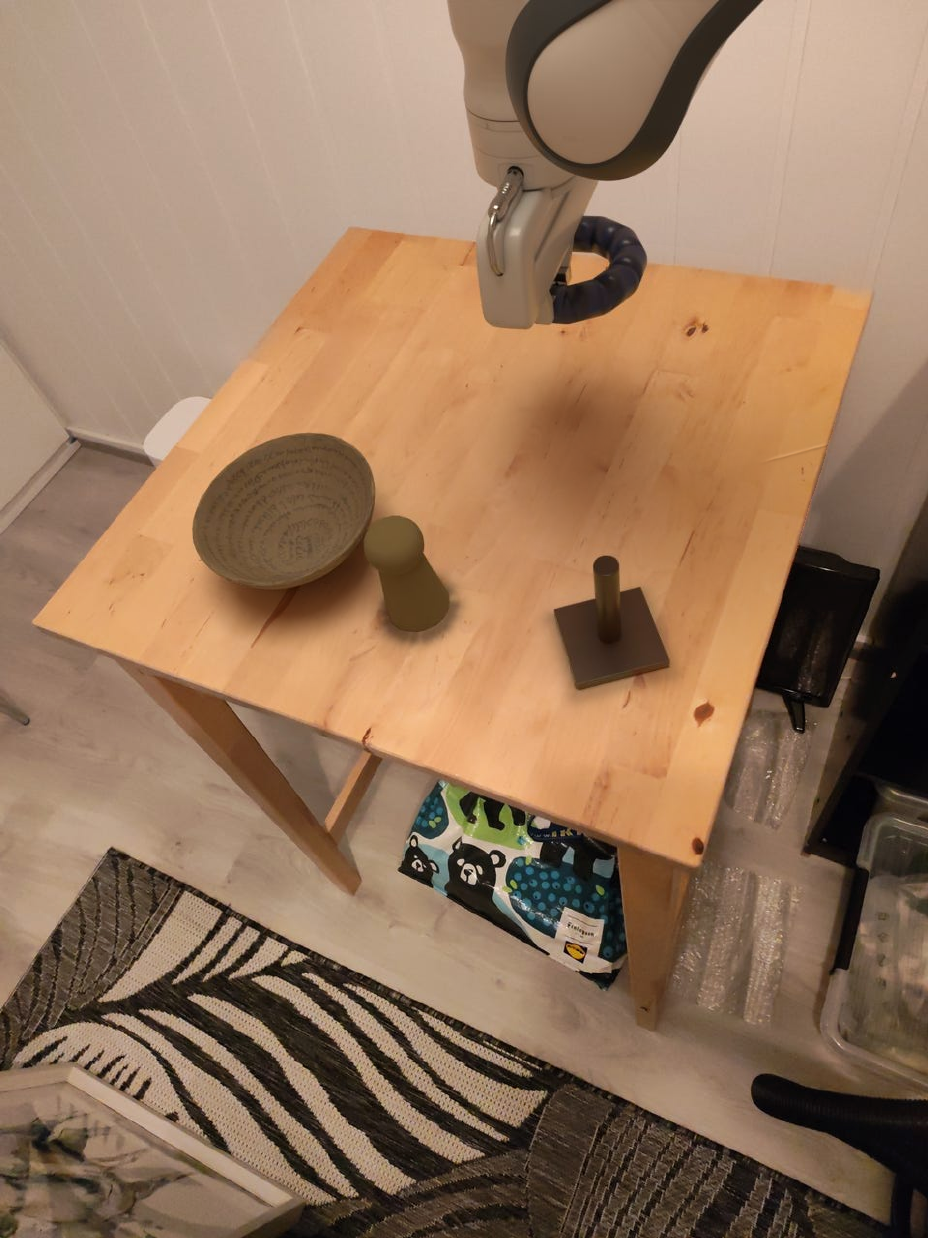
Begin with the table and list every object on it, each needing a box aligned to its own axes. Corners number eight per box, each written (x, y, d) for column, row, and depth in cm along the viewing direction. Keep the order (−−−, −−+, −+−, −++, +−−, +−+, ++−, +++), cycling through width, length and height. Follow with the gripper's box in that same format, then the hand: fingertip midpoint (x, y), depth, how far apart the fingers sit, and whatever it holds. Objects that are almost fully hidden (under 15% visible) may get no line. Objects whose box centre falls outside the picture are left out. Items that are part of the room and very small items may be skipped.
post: (640, 592, 73) (640, 513, 64) (669, 666, 68) (674, 593, 59) (554, 615, 73) (542, 539, 64) (577, 690, 69) (568, 620, 59)
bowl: (191, 607, 81) (152, 560, 75) (273, 473, 90) (244, 420, 83) (352, 645, 75) (325, 597, 69) (423, 498, 84) (405, 443, 77)
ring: (621, 225, 75) (621, 193, 72) (664, 307, 67) (665, 274, 65) (485, 261, 76) (480, 231, 73) (513, 346, 68) (508, 316, 66)
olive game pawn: (458, 584, 77) (434, 509, 68) (436, 637, 74) (408, 566, 65) (400, 574, 79) (370, 499, 70) (377, 625, 76) (342, 554, 67)
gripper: (532, 221, 50) (553, 391, 62) (614, 57, 60) (619, 231, 71) (440, 218, 53) (476, 383, 64) (533, 60, 62) (551, 229, 73)
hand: (552, 302), depth 68 cm, fingers closed on ring, 3 cm apart
